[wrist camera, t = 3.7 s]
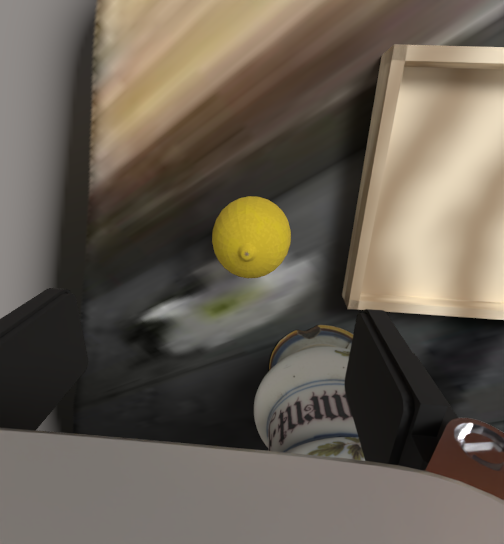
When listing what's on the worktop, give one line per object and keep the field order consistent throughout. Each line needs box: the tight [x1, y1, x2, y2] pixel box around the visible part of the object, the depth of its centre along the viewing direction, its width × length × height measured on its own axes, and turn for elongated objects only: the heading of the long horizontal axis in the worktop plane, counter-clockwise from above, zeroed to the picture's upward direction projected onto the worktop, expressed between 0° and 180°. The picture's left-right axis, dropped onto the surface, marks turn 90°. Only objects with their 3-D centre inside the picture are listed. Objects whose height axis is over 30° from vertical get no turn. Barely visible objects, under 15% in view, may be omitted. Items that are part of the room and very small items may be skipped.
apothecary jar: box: [254, 325, 365, 461], centre depth 23 cm, size 12×12×18 cm
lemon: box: [212, 196, 291, 278], centre depth 22 cm, size 6×6×8 cm
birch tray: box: [342, 45, 504, 320], centre depth 23 cm, size 20×18×2 cm
